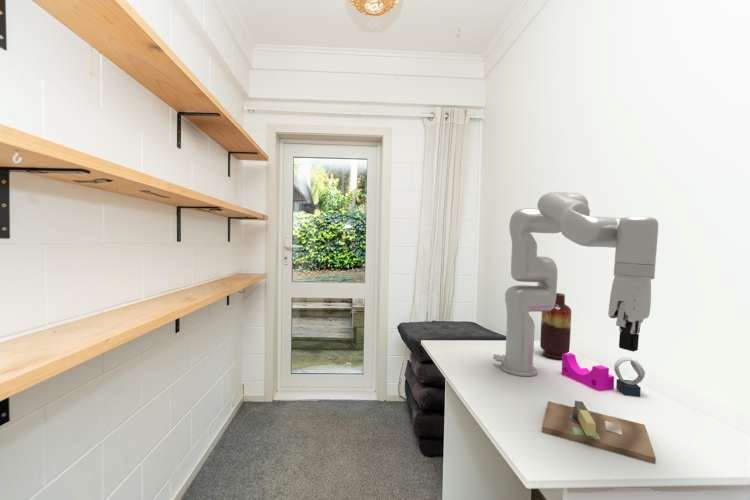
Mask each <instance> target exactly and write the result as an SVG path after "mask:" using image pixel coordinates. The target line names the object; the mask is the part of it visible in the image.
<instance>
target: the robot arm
mask: <svg viewBox="0 0 750 500" xmlns="http://www.w3.org/2000/svg"><path fill="white" fill-rule="evenodd" d="M536 206H537V207H535V208H532V207H531V208H530V207H527V208H521V209H517V210H515V211H514V212H513V213H512V215H511V217H510V219H509V225H508V226H509V235H510V239H511V240H510V241H511V258H510V259H511V261H510V273H511V274H510V276H511V278H512V279H513V280H514V281H516V282H522V283H537V285H531V284H530V285H529V284H528V285H525V284H524V285H521V284H520V285H519V284H518V285H517V284H516V285H512V286H510V287H508V288H507V289H506V290H505V293H504V302H505V307H506V334H505V335H506V336H505V354H502V355H500V354H496V353H494V354H493V358H492V359H494V361H495V362H499V363H500V369H501V370H502V371H504V372H506V373H508V374H510V375H514V376H518V377H534V376H536V375H537V374H538V368H537V367H535V366H534V350H535V349H534V348H535V347H534V344H535V343H534V342H535V322H534V320H533V318H532V317H531V315H530V313H532V312H535V313H536V312H541V313H542V312H545V311H550V310H552V309H553V308H554V306H555V302H556V293H557V288H558V267H557V263H556V262H555V261H554V260H553V259H552V258H551V257H548V256H538V254H537V253H538V243H537V241H536V239H535V237H534V236H533V235H532V234H533V233H535V234H536V233H537V234H538V233H539V234H559V233H561V235H562V236H563V237H564V238H566V239H568V241H571V242H573V243H575V244H576V245H579V246H583V247H590V248H615V252H614V253H615V255H614V266H613V268H614V269H613V276H614V277H613V280H612V284H611V291H610V295H609V304H608V315H607V316H608V317H609V318H610V319H616V322H615V324H616V325H615V326H617V327H619V330H618V331H619V337H618V338H619V339H618V348H619V349H622V350H626V351H629V352H632V353H633V352H634V353H635V352H636V351H638V350H639V338H640V337H639V336H640V331H641V324H642V323H644V320H645V319H648V317H650V312H651V305H652V304H651V303H652V281H651V280H654V279H655V275H656V263H657V262H656V260H657V250H658V249H657V248H658V246H657V245H658V237H659V221H658V220H657V219H656V218H654V217H647V216H625V217H611V216H590V214H591V210H590V206H589V202H588V199H587V197H586V196H585V195H583V194H581V193H577V192H563V191H562V192H561V191H551V192H546V193H545V194H543V195H542V196H541V197H540V198H539V199H538V201H537V205H536Z"/></svg>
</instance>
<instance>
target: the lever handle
mask: <svg viewBox="0 0 750 500" xmlns="http://www.w3.org/2000/svg"><path fill="white" fill-rule="evenodd" d="M572 407H573V412H572V418H573V419H574V420H576V421H579V422H580V424H581V426H582V428H583V430H584V432H585V434H586V435H588V436H594V437H595V429H596V424H595V422H594V420H593V419H592V417H591V415H590V414H589V411H590V410H588V408H587V407H586V405H585V403H584V402H583V401H579V400H574V406H572Z"/></svg>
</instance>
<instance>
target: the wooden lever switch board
mask: <svg viewBox="0 0 750 500" xmlns="http://www.w3.org/2000/svg"><path fill="white" fill-rule="evenodd" d="M573 407H574V406H570V405H566V404H561V403H557V402H553V401H550V400H548V401H547V404H546V409H545V413H544V417H543V421H542V425H541V433H544V434H548V435H551V436H555V437H559V438H562V439H565V440H569V441H573V442H577V443H579V444H583V445H587V446H591V447H593V448H597V449H602V450H605V451H608V452H613V453H616V454H619V455H623V456H626V457H629V458H633V459H637V460H640V461H645V462H646V463H651V464H656V463H657V462H656V460H657V458H656V455H655V452H654V448H653V445H652V442H651V440H650V439H651V438H650V437H649V433H648V430H647V427H646V425H645V424H644V423H639V422H636V421H632V420H628V419H623V418H619V417H616V416H615V417H614V416H610V415H607V414H603V413H599V412H594V411H591V410H588V411H589V414H590V415H591V417H592V419H593V420H594V422H595V424H596V429H595V437H594V436H588V435H586V434H585V432H584V430H583V428H582V426H581V424H580V422H579V421H576V420H574V419H573V418H572V412H573Z"/></svg>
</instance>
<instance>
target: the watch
mask: <svg viewBox="0 0 750 500" xmlns="http://www.w3.org/2000/svg"><path fill="white" fill-rule="evenodd" d="M625 362H630V364H631V367H632V368H633V370H634V371H635V372H636V374H637V375H638V376H637V377H636V378H635V379H632V380H630V379H624V378H623V376H622V374H621V371H620V365H621V364H623V363H625ZM613 371H614V373H615V375H616V376H617V379H616V385H615V386H616V390H618V391H619V392H620V393H621V394H622V395H624V396H626V397H635V398H636V397H637V398H641V386H640V385H638V384H639V383H641V382H643V380H644V378H645V375H646V371H645V369H644V367H643V366H642V365H641V363H639V361H638V360H636V359H632V358H631V357H621V358H619V359H618V360H616V362H615V363H614V368H613Z"/></svg>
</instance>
